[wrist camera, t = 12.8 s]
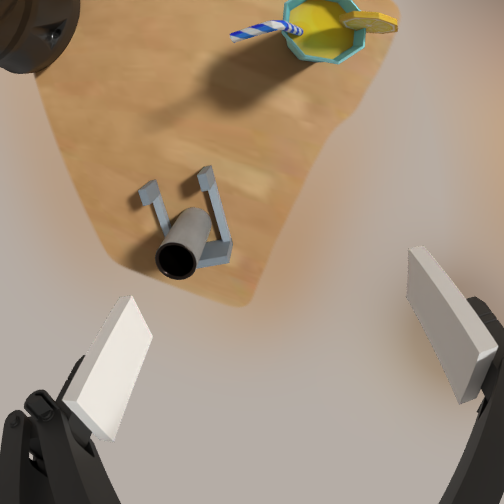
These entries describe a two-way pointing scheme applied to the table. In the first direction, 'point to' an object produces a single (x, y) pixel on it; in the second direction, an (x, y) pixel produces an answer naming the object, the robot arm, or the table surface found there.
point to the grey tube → (184, 244)
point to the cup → (323, 29)
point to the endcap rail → (222, 248)
